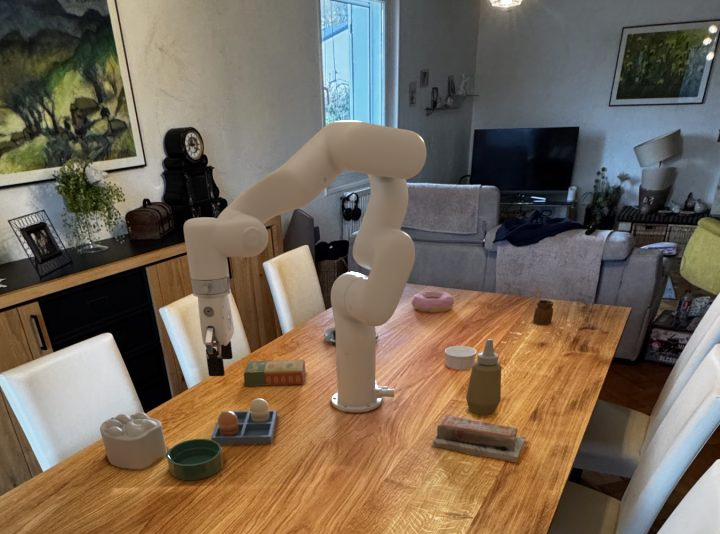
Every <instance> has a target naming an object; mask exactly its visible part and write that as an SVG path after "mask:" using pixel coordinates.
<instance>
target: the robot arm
mask: <svg viewBox="0 0 720 534" xmlns="http://www.w3.org/2000/svg"><path fill="white" fill-rule="evenodd" d="M427 153H428V152H427V147H426V143H425V140H424V139H423V138H422V136H421V135H419V134H418V133H417V132H416V131H413V130H409V129H404V128H398V127H392V126H386V125H382V124H375V123H370V122H366V121H360V120H336V121H332V122H330V123H327V124H326V125H324V127H322V128H321V129H320V130H318V131H317V132H316V134H314V135H313V136H312V137H311V138H310V139H309V140H308V141H307V142H306V143H305V144H304V145H302V147H301V148H300V149H298V150H297V151H296V152H295V153H294V154H293V155H292V156H291V157H290V158H289V159H287V160H286V161H285V162H284V163H283V164H282V165H280V166H279V167H278V168H276V169H274V170H273V171H271V172H270V173H269V174H267V175H266V176H265V177H263V178H262V179H260V180H258V181H257V182H255V183H253V184H252V185H251V186H249V187H248V188H247V189H245V190H243V192H241V193H240V194H239V195H238V196H236V198H235V199H234V200H232V201H231V203H229V204H228V205H227V206H226V207H225V208H224V209H223V210H222V211H221V212H220V213H219V214H218V216H217V218H215V217H208V216H207V217H206V216H203V217H201V216H200V217H194V218H190V219H187V220H185V222H184V224H183V236H184V243H185V249H186V256H187V263H188V271H189V278H190V285H191V292H192V295H193V296H194V297H196V298H197V303H198V306H197V307H198V316H199V324H200V332H201V339H202V343H203V345H204V346H205V348H206V349H205V357H206V365H207V371H208V376H209V377H224V376H225V375H226V374H225V373H226V372H225V365H224V364H225V363H224V360H232V359H233V357H234V356H233V348H232V341H231V339H232V338H233V336H234V333H235V327H234V319H233V313H232V308H231V307H232V306H231V302H230V296H229V295H230V294H231V293H232V290H231V281H230V280H231V279H230V272H229V261H228V258H254V257H256V256H258V255H260V254H261V253H263V252H264V251H265V249H266V248H267V247H268V243H269V232H268V230H267V228H266V226H265V224H266V223H267V222H269V221H271V220H272V219H273V218H275V217H277V216H279V215H281V214H283V213H284V214H285V213H287V212H292V211H296V210H299V209H301V208H303V207H305V206H307V205H309V204H311V203H312V202H313V201H314V200H315V199H316V198H317V197H318V196H319V195H321V193H322V192H323V191H324V190H325V189H327V188H328V187H329V186H330V185H331V184H332V183H333V182H334V181H335V180H337V179H338V178H339V176H341V175H342V174H343V173H344V172H354V173H359V174H360V173H361V174H365V175H366V176H367V178H368V181H369V186H370V187H369V188H370V193H369V199H368V203H367V206H366V210H365V212H364V215H363V218H362V220H361V223H360V226H359V229H358V231H357V234H356V237H355V239H354V241H353V244H352V245H353V246H352V258H353V260H354V261H355V263H356V264H357V265H358V266H360V267H362V268H364V269H366V270H369V273H368V275H365V274H363V273H360V272H355V271H350V272H349V271H347V272H345V273H342V274H341V275H339V276H338V277H337V278H336V279H335V280H334V282H333V283H332V286H331V290H330V304H331V309H332V316H333V320H334V321H333V322H334V327H335V333H336V346H335V361H336V363H335V364H336V391H337V392H335V393H334V394H333V395H332V396H331V400H330V401H331V405H332V406H333V407H334V408H335V409H337V410H340V411H343V412H346V413H356V414H358V413H366V412H370V411H373V410H375V409H377V408H379V407H380V406H381V404H382V400H383V399H382V398H394V397H395V389H394V388H389V385H388V386H386V385H383V386H380V385H377V380H376V368H377V367H376V363H377V362H376V359H377V357H376V355H377V354H376V353H377V352H376V348H377V347H376V346H377V345H376V344H377V339H376V333H377V331H376V327H380V326H383V325H384V324H386V323H388V321H389V320H391V318H392V316H394V313H395V312H396V311H397V308H398V306H399V303H400V300H401V298H402V296H403V294H404V292H405V291H404V290H405V288H406V287H407V283H408V281H409V278H410V276H411V274H412V271H413V268H414V266H415V265H414V264H415V260H416V247H415V243H414V241H413V239H412V237H411V236H410V235H409V234H408V233H406V232H405V231H403V230H401V229H402V226H403V223H404V220H405V218H406V214H407V211H408V206H409V187H408V183H407V180H409V179H412V178H415V176H417V175H418V174H420V172H421V171H422V170H423V168H424V166H425V164H426V161H427Z"/></svg>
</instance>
